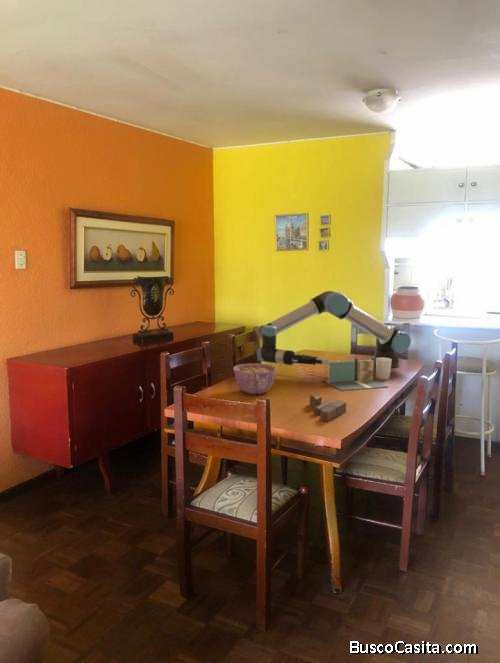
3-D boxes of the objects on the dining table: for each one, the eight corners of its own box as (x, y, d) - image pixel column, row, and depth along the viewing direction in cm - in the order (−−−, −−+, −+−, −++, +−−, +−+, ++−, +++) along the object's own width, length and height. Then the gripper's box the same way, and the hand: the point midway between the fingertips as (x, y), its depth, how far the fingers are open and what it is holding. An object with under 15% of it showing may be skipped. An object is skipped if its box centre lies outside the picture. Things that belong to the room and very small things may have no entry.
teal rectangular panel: (352, 380, 263) (353, 360, 261) (354, 380, 261) (355, 361, 260) (329, 381, 259) (329, 362, 257) (330, 382, 258) (331, 362, 256)
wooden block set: (347, 398, 213) (328, 409, 199) (347, 412, 214) (327, 423, 200) (311, 392, 223) (289, 402, 208) (310, 405, 224) (289, 415, 209)
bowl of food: (268, 400, 229) (268, 374, 227) (226, 395, 236) (226, 370, 234) (281, 389, 248) (281, 365, 246) (242, 385, 255) (242, 362, 253)
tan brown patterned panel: (373, 380, 266) (374, 357, 264) (374, 380, 265) (375, 357, 263) (353, 381, 263) (354, 358, 261) (354, 382, 261) (355, 358, 260)
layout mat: (367, 377, 271) (367, 376, 271) (388, 387, 252) (388, 386, 252) (323, 380, 264) (323, 379, 264) (341, 390, 245) (341, 389, 245)
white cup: (378, 375, 277) (379, 356, 275) (392, 377, 272) (393, 358, 271) (372, 378, 271) (373, 359, 269) (387, 380, 266) (388, 361, 264)
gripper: (290, 362, 278) (332, 367, 267) (280, 366, 266) (323, 372, 255) (290, 348, 276) (333, 352, 266) (280, 352, 265) (324, 357, 254)
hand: (328, 362), depth 260 cm, fingers closed
